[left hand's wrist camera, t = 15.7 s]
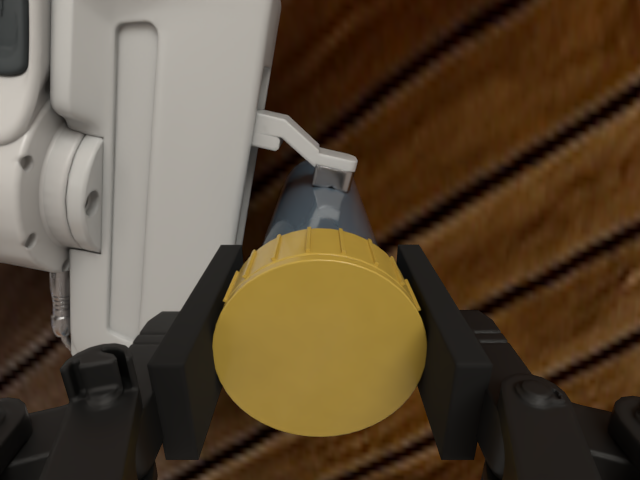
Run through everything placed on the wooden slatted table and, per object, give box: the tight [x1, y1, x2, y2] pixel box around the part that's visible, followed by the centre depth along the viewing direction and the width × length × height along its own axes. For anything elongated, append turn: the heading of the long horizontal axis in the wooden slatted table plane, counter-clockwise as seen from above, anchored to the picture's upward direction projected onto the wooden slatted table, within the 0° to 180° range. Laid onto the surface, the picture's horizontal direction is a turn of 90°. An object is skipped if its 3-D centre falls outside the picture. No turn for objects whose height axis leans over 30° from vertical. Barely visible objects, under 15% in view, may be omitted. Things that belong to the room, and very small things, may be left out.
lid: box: [212, 227, 427, 437], centre depth 11 cm, size 6×6×2 cm
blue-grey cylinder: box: [261, 160, 378, 247], centre depth 18 cm, size 5×5×16 cm
